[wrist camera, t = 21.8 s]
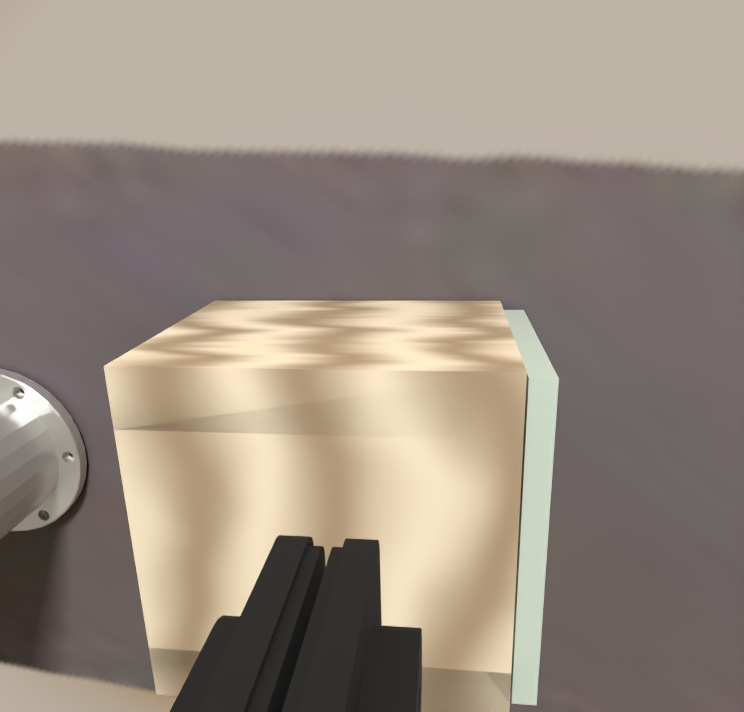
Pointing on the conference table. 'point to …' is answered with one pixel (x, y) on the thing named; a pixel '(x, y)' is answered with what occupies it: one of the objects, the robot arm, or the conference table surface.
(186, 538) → the beige brown striped box
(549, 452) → the mint green drawer
